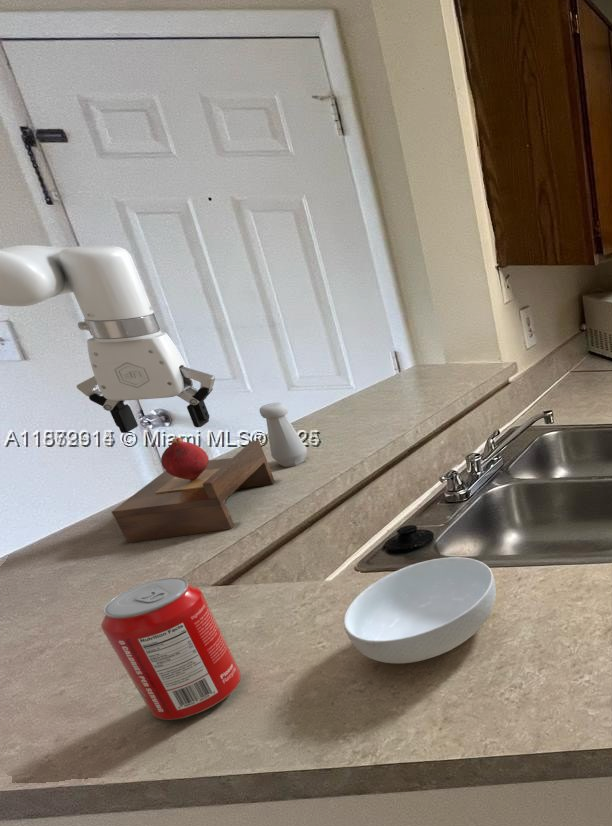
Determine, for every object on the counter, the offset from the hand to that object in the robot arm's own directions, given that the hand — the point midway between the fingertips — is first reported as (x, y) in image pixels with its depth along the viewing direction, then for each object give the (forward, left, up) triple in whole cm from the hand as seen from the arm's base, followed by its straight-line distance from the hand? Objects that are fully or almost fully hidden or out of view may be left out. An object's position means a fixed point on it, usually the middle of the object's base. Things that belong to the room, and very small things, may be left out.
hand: (166, 427), depth 103 cm
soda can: (+21, -52, -17) cm, 59 cm away
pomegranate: (0, 0, -10) cm, 10 cm away
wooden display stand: (0, 0, -16) cm, 16 cm away
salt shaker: (+7, +18, -17) cm, 26 cm away
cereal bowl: (+45, -49, -17) cm, 69 cm away
